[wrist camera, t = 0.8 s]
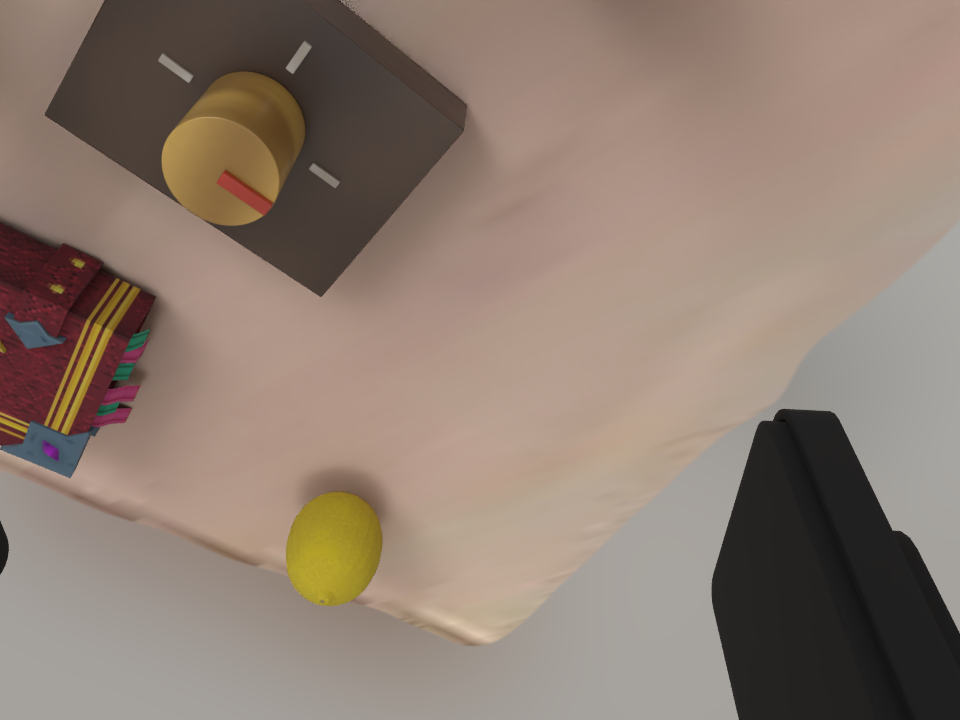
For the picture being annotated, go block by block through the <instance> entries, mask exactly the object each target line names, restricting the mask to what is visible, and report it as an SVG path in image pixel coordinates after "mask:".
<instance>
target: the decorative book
mask: <svg viewBox="0 0 960 720" xmlns="http://www.w3.org/2000/svg"><path fill="white" fill-rule="evenodd" d="M102 265H103V262H101V261H99V260H97V259H94V258H92V257H90V256H88V255H86V254H84V253H82V252H80V251H78V250H76V249H74V248H72V247H69V246H67V245H65V244H63V245H62V246H61V247H60V248H59V249H58V250H57V249H55V248H53V247H51V246H48V245H46V244H44V243H42V242H40V241H38V240H36V239H34V238H32V237H30V236H27V235H25V234H23V233H21V232H19V231H17V230H15V229H13V228H11V227H9V226H6V225H4V224H2V223H0V445H1V448H0V450H3V451H5V452H7V453H10V454H12V455H15V456H17V457H20V458H22V459H25V460H27V461H30V462H32V463H34V464H37V465H39V466H42V467H44V468H47V469H49V470H52V471H54V472H56V473H59V474H61V475H64V476H66V477H69V478H71V476H72V474H73V473H74V471H75V469H76V467H77V465H78V463H79V460H80V458H81V456H82V454H83V451H84V449H85V447H86V445H87V443H88V440H89V438H90V436H91V435H92V436H95V435H96V433H97V431H98V430H99V428H100V427H101V426H104V425H107V424H112V423H125V422H126V420H127V418H128V416H129V413H130V411H131V409H132V408H125V409H117V407H118V405H119V403H120V401H134V398H135V396H136V394H137V392H138V390H139V388H140V386H141V385H133V386H123V387H120V388H118V387H115V385H116V383H117V381H118V380H128V378H129V376H130V374H131V372H132V369H133V367H134V365H135V362H136V361H137V360H138V359H139V358H140V357H141V355H142V353H143V351H144V349H145V347H146V345H147V343H148V341H149V340H148V341H147V342H146V343H145V344H144V342H145V340H146V337H147V335H148V333H149V331H150V329H148V330H146V331H143V332H140V331H141V329H142V326H143V324H144V322H145V320H146V318H147V316H148V313H149V311H150V309H151V307H152V305H153V303H154V300H155V298H156V296H153V295H151V294H149V293H147V292H145V291H143V290H141V289H139V288H137V287H135V286H132V285H130V284H128V283H126V282H124V281H122V280H120V279H118V278H116V277H114V276H111V275H109V274H107V273H105V272H103V271H101V267H102ZM149 339H150V338H149ZM143 344H144V345H143Z"/></svg>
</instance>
